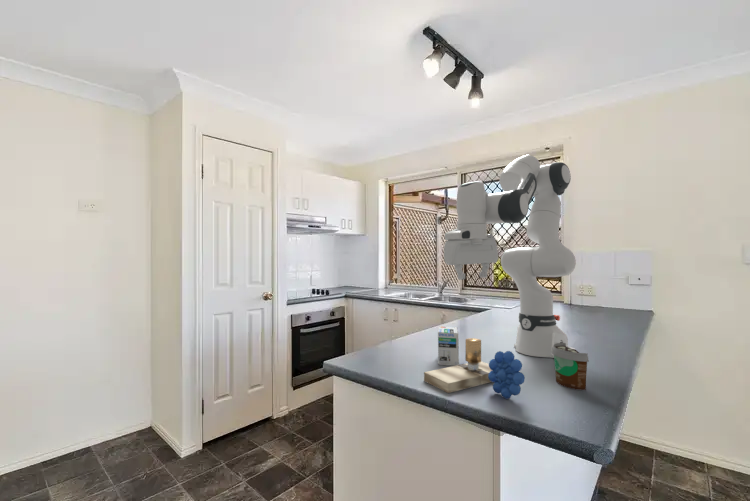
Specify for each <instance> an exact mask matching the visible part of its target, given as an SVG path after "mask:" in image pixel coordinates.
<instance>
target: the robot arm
mask: <svg viewBox="0 0 750 501" xmlns="http://www.w3.org/2000/svg"><path fill="white" fill-rule="evenodd" d="M570 183H571V171H570V169H569V166H568V165H567V164H565V162H560V161H557V162H552V163H549V164H543V165H541V164H540V161H539V159H538V158H537V157H536V156H534V155H530V154H526V155H522V156H520V157H517V158H516V159H514V160H513V161H511V162H510V163H509V164H508V165H506V166H505V167H504V169H503V170H502V171H501V172H500V175H499V186H500V187H501V189H502V190H503V191H501V192H494V193H490V192H487V191H486V189H485V185H484V184H485V183H484V182H483V181H481V180H478V181H477V180H475V181H471V182H465V183H462V184H460V185H459V186H458V189H457V193H456V213H457V223H456V225H457V226H456V228H455V229H452V230H449V231H446V233H445V234H444V240H445V242H444V245H443V246H444V247H443V259H444V260H443V261H444V263H445V264H446V265H447V266H454V270H455V271H456V274H457V280H459V281H464V280H466V273H464V272H463V268H464V266H463V265H472V264H473V265H477V264H480V265H481V267H482V268H481V270H480V271H479V278H483V279H484V278H488V277H487V276H488V270H489V269H490V264H493V263H498V260H499V252H498V245H497V241H496V237H495V236H494V235H493V233H487V232H488V231H487V230H488V229H487V228H488V226H487V225H488V224H489V225H491V224H492V225H495V224H504V223H505V224H519V223H521V222H522V221H523V220H524V219H525V218H526V216H527V215H528V212H529V207H530V203H531V202H532V200H533V197H534V201H533V203H532V206H531V208H530V212H529V217H528V220H527V226H526V231H525V232H526V235H527V237H528V239H529V240H530V241H532V242H534V243H536V244H538V246H525V247H523V246H521V247H513V248H509V249H506V250H504V252H503V253H502V255H501V257H500V266H501V268H502V270H503V272H504V273H505V274H507V275H508V276H509V277H510V278H512V280H513V281H514V283H515V285H516V288H517V289H518V295H519V303H520V304H519V307H520V309H519V313H518V322H519V325H518V326H517V331H516V341H515V343H514V344H513V348H515V351H516V352H517V353H520V354H521V355H526V356H531V357H537V358H552V359H553V358H554V355H553V354H552V353H551V351H552V347H553V345H554V344H557V343H566V347H568V348H571V349H575V348H574V347H572V346H570V345H569V339H568V335H567V334H566V333H565V332H564V331H563V330H562V329H561V328H559V326H558V325H557V321H560V319H561V316H560V314H554V295H553V294H552V291H551V290H550V289H548V288H546V287H545V286H543V285H541V284H540V283H539V282H538V280H537V277H539V278H542V277H543V278H544V277H545V278H558V277H567V276H569V275H571V274H572V273H573V271H574V270H575V268H576V264H577V263H576V261H577V259H576V257H575V256H576V255H575V254H574V253H573V251H572V250H571V249H570V248H568V247H566V246H565V245H564V244H563V243H562V242H561V240H560V236H559V232H560V230H559V229H560V222H561V215H562V204H561V198H560V197H559V196H562V195H564V193H565V190H566V189H567V188H568V187H569V185H570Z"/></svg>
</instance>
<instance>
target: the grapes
mask: <svg viewBox="0 0 750 501" xmlns="http://www.w3.org/2000/svg"><path fill="white" fill-rule="evenodd" d="M488 364H489V367H490V369H491V370H493V371H491V372H489V374H488V378H489V380H490V381H491V382H490V383H493V384H492V389H493V391H494V392H495V393H496V394H500V396H502V398H504V399H510V398H511V397H512V396H519V395H520V392H521V390H522V389H521V386H520V385H522V384H524V382H525V380H526V377H525V375H524V374H523V373H522V372H521V370H522V368H523V364H522V361H521V360H519V359H517V358H515V354H514V353H513V352H512V351H510V350H507V351H505V352H503V351H501V350H499V351H497V352H496V353H494V358H492V359H490V361H489V363H488Z"/></svg>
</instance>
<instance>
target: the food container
mask: <svg viewBox="0 0 750 501" xmlns="http://www.w3.org/2000/svg"><path fill="white" fill-rule="evenodd" d="M551 353H552V354H553V355H554V359H553V360H554V372H555V381H556V383H557V384H558V385H560V386H562V387H563V388H564V387H565V388H568V389H571V390H578V391H586V390H587V371H588V362H589V356H588V353H587V352H585V353H584V352H580V351H578V350H576V348H574V349H571V348H568V347H566V343H557V344H554V345H553V347H552V351H551Z"/></svg>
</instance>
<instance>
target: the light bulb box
mask: <svg viewBox="0 0 750 501" xmlns="http://www.w3.org/2000/svg"><path fill="white" fill-rule="evenodd" d="M459 339H460V338H459V331H458V327H456V326H455V327H454V326H442V325H441V326H439V325H438V327H437V351H438V352H437V358H438V359H437V360H438V361H437V364H438V365H439V366H448V367H452V366H457V365H460V362H459V360H460V358H459V357H460V356H459V354H460V353H459V351H460V349H459V348H460V347H459V346H460V345H459V344H460V343H459V342H460V341H459Z"/></svg>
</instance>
